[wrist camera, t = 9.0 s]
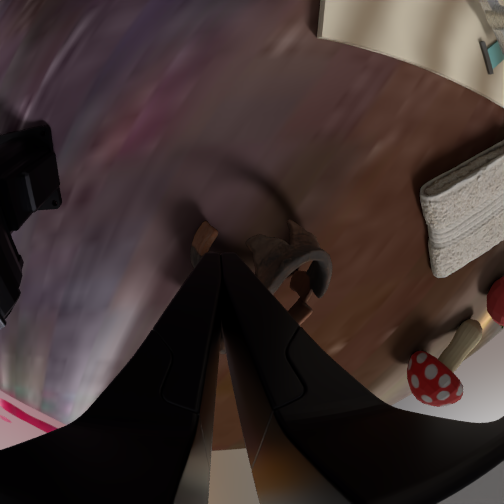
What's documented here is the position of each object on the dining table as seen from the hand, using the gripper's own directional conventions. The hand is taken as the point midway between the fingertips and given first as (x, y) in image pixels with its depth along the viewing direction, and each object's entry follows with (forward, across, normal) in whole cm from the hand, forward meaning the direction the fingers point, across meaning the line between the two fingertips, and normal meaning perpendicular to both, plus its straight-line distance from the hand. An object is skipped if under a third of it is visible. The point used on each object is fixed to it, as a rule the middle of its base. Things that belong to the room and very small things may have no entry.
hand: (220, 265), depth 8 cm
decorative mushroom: (+14, -34, +26) cm, 45 cm away
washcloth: (+14, -27, +2) cm, 31 cm away
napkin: (+13, -16, -17) cm, 27 cm away
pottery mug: (+13, -3, +10) cm, 17 cm away
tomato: (+14, -40, +15) cm, 45 cm away
